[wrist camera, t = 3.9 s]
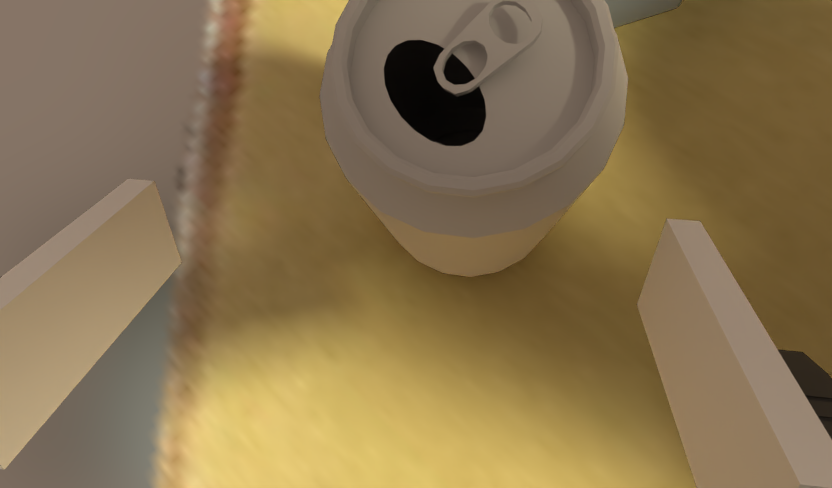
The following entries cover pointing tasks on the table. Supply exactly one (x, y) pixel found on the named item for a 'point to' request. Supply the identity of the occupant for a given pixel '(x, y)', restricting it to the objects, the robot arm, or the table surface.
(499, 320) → the table surface
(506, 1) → the can
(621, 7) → the bowl
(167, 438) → the table surface
